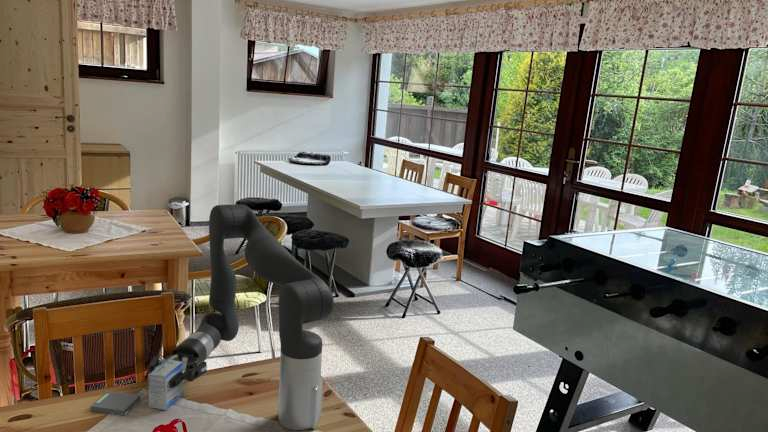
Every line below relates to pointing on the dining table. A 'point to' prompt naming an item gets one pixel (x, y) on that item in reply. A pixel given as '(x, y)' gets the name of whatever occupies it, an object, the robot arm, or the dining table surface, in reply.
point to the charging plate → (115, 402)
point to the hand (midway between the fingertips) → (160, 382)
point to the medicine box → (164, 385)
